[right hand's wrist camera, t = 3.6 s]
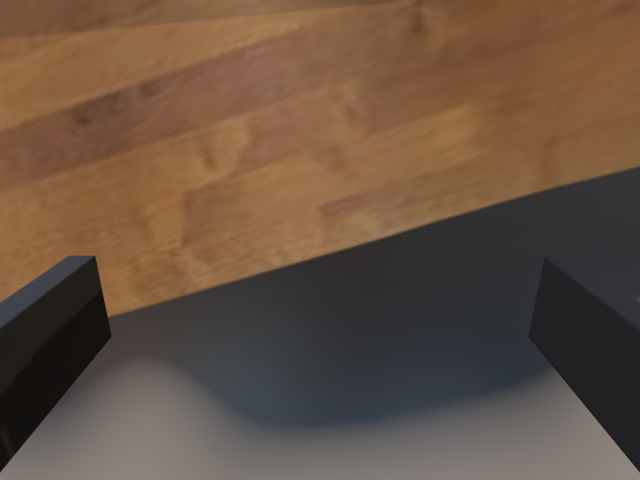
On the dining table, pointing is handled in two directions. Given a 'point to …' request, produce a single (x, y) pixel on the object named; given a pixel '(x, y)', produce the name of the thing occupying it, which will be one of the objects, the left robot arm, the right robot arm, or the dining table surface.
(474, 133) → the dining table surface
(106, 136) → the dining table surface
